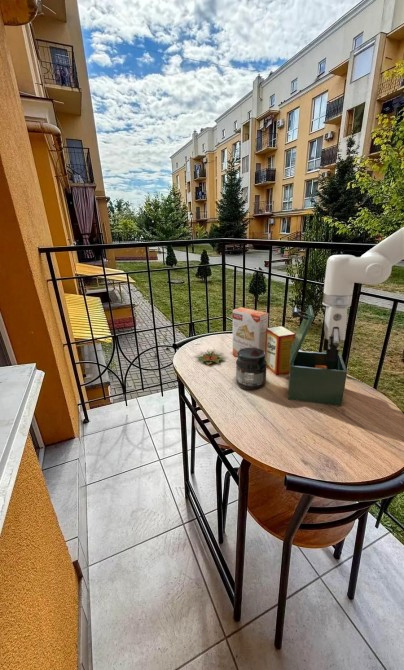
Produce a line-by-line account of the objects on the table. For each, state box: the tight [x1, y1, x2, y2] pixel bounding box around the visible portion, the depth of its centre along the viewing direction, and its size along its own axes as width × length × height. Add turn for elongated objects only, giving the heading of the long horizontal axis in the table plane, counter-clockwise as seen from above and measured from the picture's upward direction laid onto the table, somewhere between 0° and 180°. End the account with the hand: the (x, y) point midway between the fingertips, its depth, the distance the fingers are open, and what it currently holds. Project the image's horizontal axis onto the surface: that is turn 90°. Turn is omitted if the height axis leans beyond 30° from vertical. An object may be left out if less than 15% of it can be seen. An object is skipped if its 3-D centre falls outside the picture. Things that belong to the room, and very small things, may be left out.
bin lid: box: [289, 304, 315, 365], centre depth 87 cm, size 16×13×5 cm
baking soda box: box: [265, 325, 296, 377], centre depth 106 cm, size 10×6×16 cm
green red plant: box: [196, 348, 225, 366], centre depth 118 cm, size 12×12×5 cm
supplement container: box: [235, 348, 267, 391], centre depth 97 cm, size 10×10×12 cm
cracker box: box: [232, 306, 269, 357], centre depth 115 cm, size 14×6×21 cm, turn 42°
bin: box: [287, 350, 348, 407], centre depth 90 cm, size 16×13×12 cm
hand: (329, 355), depth 87 cm, fingers open, 7 cm apart
